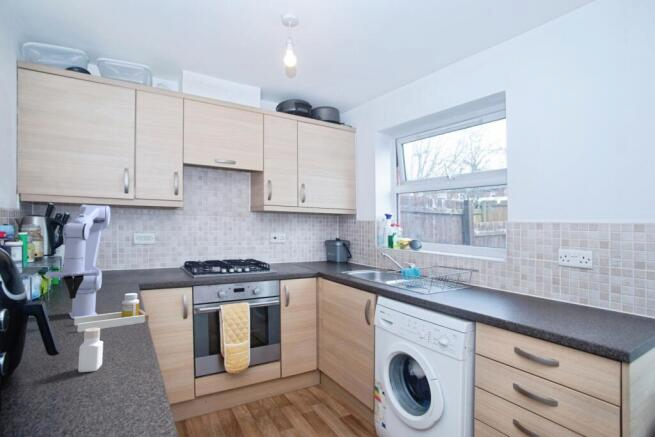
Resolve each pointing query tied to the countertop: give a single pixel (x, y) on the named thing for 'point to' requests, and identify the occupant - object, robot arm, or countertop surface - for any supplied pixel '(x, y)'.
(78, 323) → the white shallow tray
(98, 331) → the white square pill bottle
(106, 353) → the countertop surface
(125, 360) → the countertop surface
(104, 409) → the countertop surface
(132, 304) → the supplement bottle
